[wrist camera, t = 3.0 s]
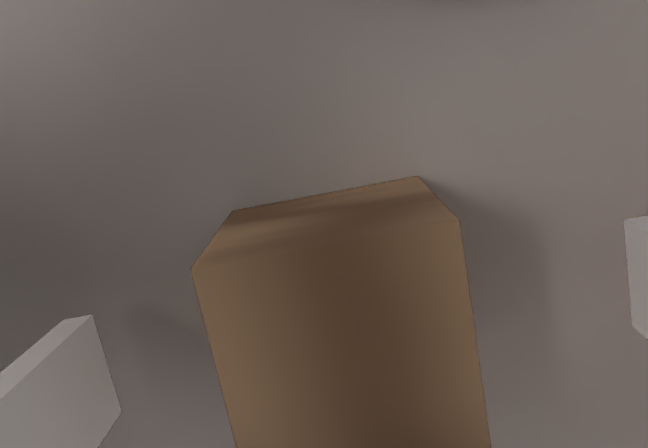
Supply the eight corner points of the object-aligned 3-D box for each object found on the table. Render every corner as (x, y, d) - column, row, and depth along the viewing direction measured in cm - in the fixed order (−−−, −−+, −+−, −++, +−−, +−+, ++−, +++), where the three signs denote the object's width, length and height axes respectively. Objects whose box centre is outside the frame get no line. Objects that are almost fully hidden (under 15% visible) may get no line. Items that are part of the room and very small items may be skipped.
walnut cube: (271, 376, 17) (249, 497, 12) (232, 210, 16) (190, 269, 11) (443, 346, 17) (492, 458, 12) (417, 175, 15) (459, 220, 10)
